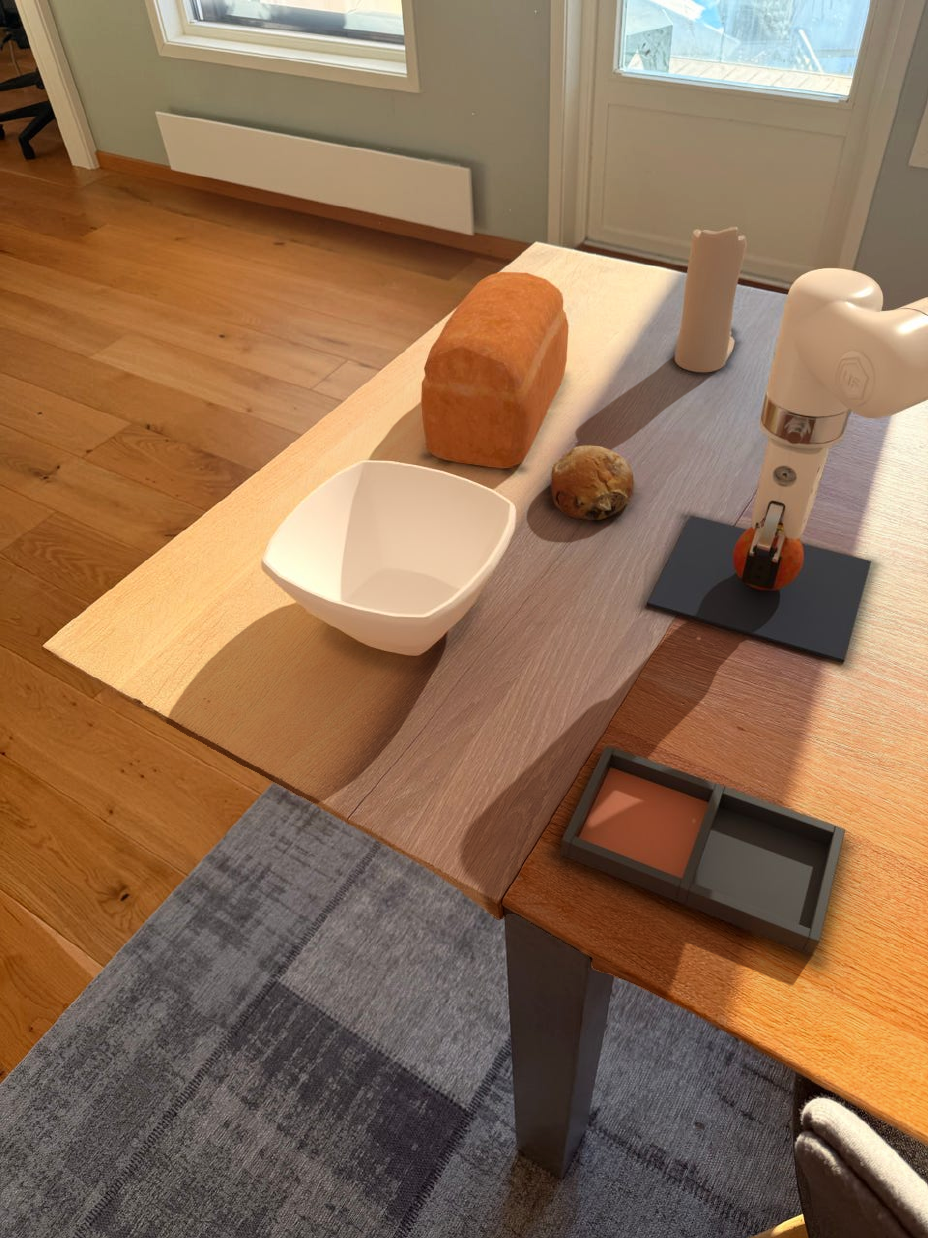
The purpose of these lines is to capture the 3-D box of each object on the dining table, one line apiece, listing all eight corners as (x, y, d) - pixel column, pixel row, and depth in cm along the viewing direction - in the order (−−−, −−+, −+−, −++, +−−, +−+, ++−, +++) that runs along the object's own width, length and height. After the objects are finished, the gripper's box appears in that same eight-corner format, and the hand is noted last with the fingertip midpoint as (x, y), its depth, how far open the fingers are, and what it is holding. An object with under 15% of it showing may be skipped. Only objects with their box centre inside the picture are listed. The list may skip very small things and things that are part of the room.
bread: (571, 370, 130) (576, 261, 119) (522, 475, 113) (523, 359, 102) (479, 358, 134) (476, 252, 122) (418, 458, 116) (408, 345, 105)
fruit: (805, 599, 95) (824, 541, 89) (741, 608, 94) (755, 549, 88) (780, 556, 99) (796, 498, 94) (719, 564, 99) (731, 506, 93)
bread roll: (632, 510, 113) (642, 445, 110) (624, 528, 103) (634, 459, 100) (554, 499, 115) (561, 436, 112) (539, 516, 105) (547, 448, 103)
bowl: (368, 527, 107) (355, 444, 98) (540, 581, 99) (542, 496, 91) (254, 652, 93) (229, 567, 85) (443, 726, 85) (435, 641, 77)
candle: (742, 332, 136) (769, 194, 122) (717, 376, 127) (743, 233, 113) (695, 323, 138) (716, 187, 124) (668, 366, 130) (686, 225, 116)
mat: (870, 563, 99) (871, 560, 98) (843, 662, 89) (844, 660, 88) (690, 517, 106) (690, 515, 105) (646, 605, 96) (647, 602, 95)
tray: (838, 843, 75) (845, 828, 73) (812, 956, 68) (819, 942, 67) (604, 760, 82) (606, 744, 80) (560, 854, 75) (561, 840, 73)
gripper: (829, 474, 75) (785, 621, 88) (864, 374, 86) (821, 518, 99) (739, 454, 78) (709, 600, 90) (784, 359, 89) (751, 501, 101)
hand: (767, 557), depth 94 cm, fingers open, 8 cm apart
